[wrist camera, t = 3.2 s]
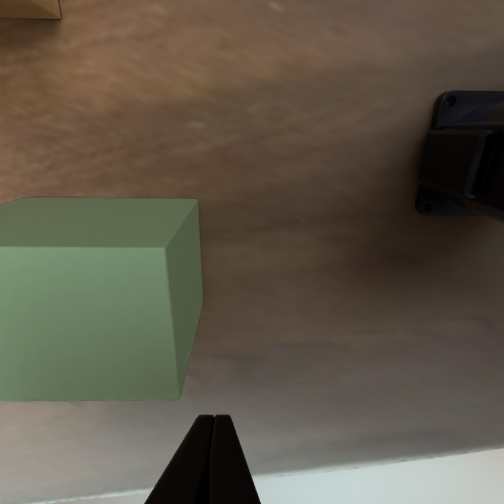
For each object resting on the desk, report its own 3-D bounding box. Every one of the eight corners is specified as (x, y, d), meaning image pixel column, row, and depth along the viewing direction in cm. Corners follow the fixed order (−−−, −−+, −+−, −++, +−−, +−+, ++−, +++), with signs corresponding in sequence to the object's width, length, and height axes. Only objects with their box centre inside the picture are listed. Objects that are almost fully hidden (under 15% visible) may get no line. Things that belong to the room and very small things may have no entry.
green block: (198, 198, 18) (164, 247, 11) (203, 302, 21) (179, 401, 13) (23, 196, 18) (-137, 246, 10) (50, 302, 20) (-61, 403, 13)
